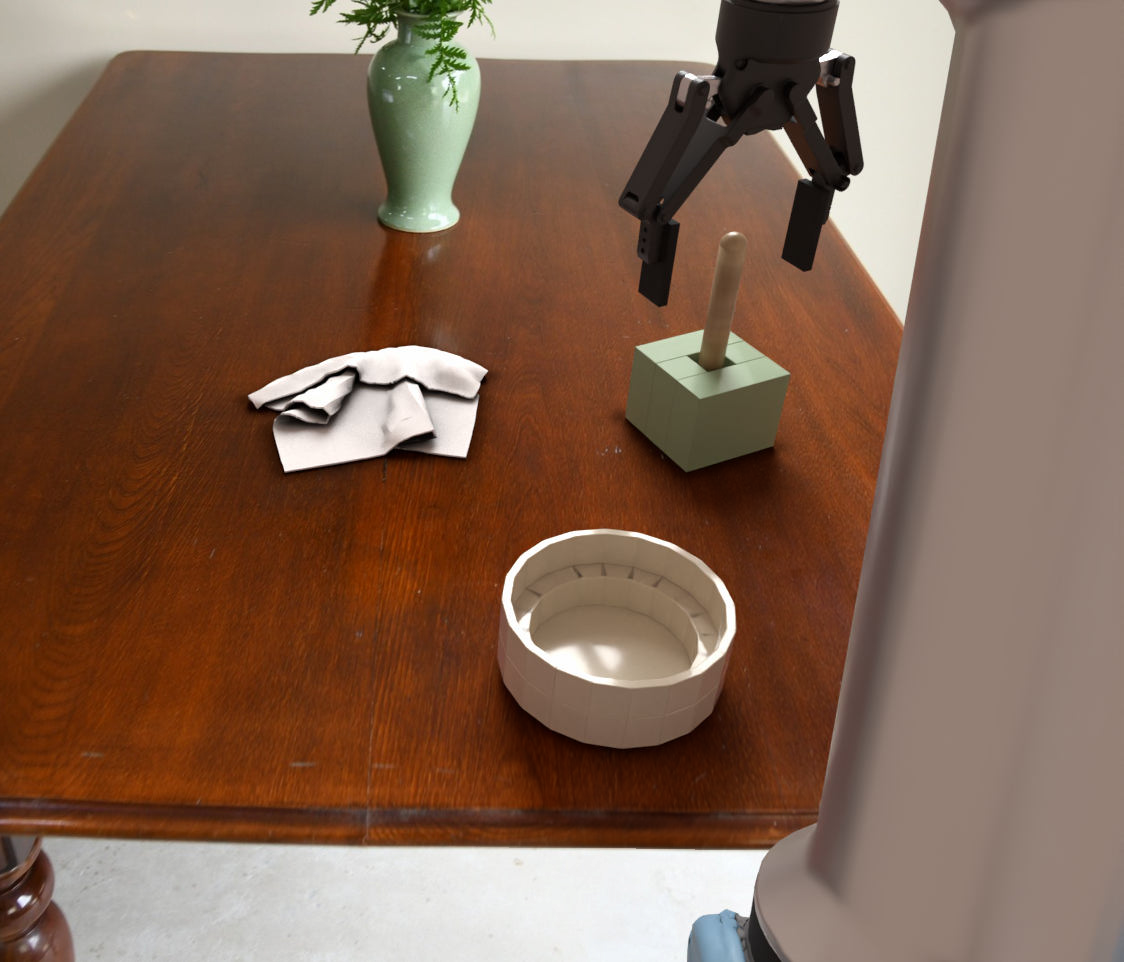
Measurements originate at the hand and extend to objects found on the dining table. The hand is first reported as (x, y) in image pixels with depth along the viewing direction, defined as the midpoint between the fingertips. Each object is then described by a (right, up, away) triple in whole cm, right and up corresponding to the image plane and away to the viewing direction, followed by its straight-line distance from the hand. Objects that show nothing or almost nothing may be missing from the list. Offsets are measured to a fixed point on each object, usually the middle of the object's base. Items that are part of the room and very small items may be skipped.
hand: (726, 281), depth 87 cm
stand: (0, -11, +8) cm, 14 cm away
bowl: (-12, -28, -14) cm, 33 cm away
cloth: (-28, -9, +11) cm, 32 cm away
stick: (0, -11, +8) cm, 14 cm away
